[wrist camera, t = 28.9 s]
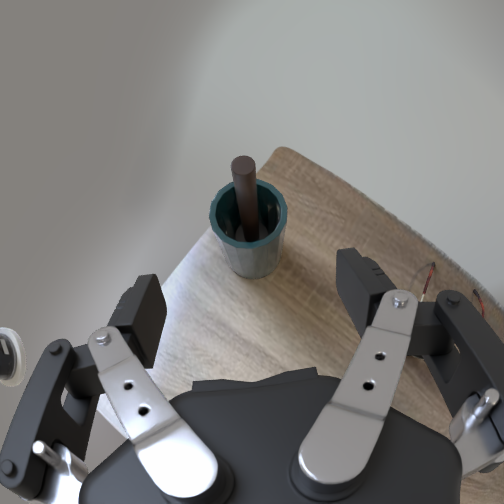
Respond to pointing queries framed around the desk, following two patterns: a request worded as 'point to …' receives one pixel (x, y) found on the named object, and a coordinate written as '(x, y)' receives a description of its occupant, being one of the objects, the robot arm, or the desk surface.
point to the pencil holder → (228, 220)
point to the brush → (247, 200)
